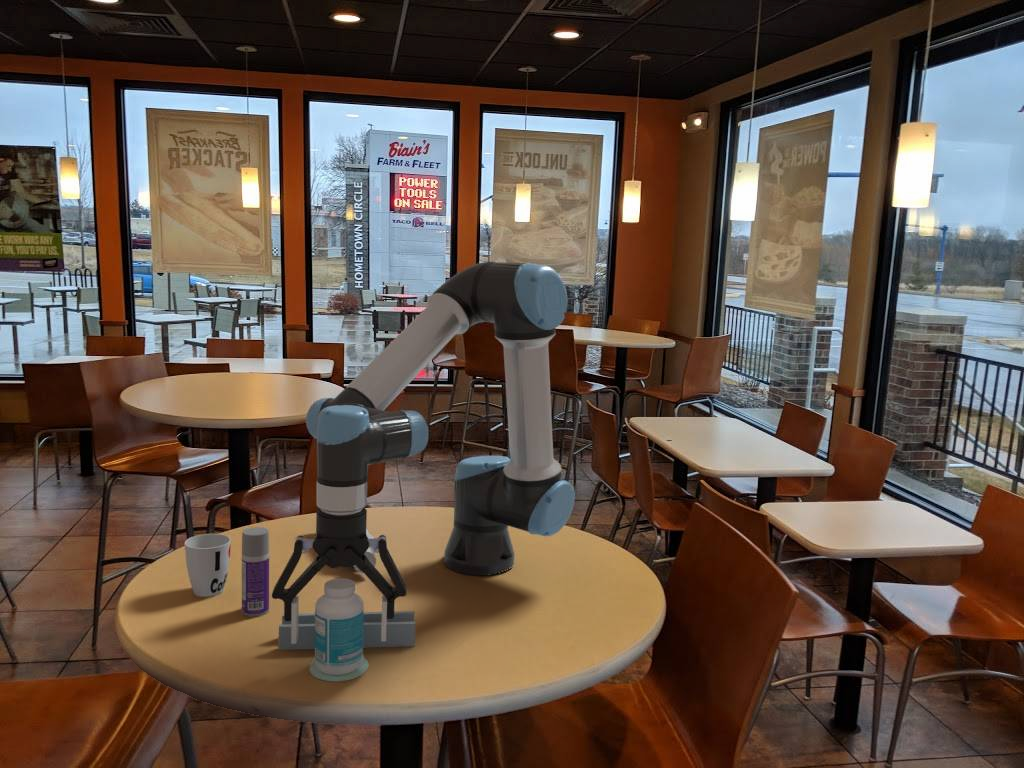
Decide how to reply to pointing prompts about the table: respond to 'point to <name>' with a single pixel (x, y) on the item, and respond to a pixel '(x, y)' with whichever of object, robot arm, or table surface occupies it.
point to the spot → (339, 678)
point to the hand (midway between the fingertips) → (339, 638)
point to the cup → (208, 563)
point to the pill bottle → (339, 628)
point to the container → (255, 571)
